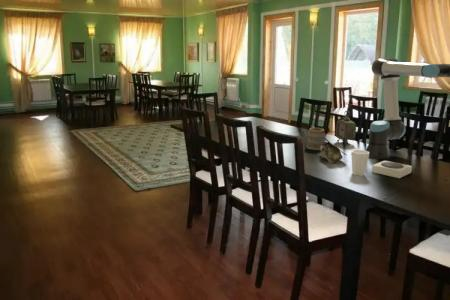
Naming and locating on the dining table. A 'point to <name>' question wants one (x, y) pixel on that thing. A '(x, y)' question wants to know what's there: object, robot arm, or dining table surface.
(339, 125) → the tabletop clock
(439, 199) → the dining table surface
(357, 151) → the foam cup
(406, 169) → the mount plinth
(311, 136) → the tankard
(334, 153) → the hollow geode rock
